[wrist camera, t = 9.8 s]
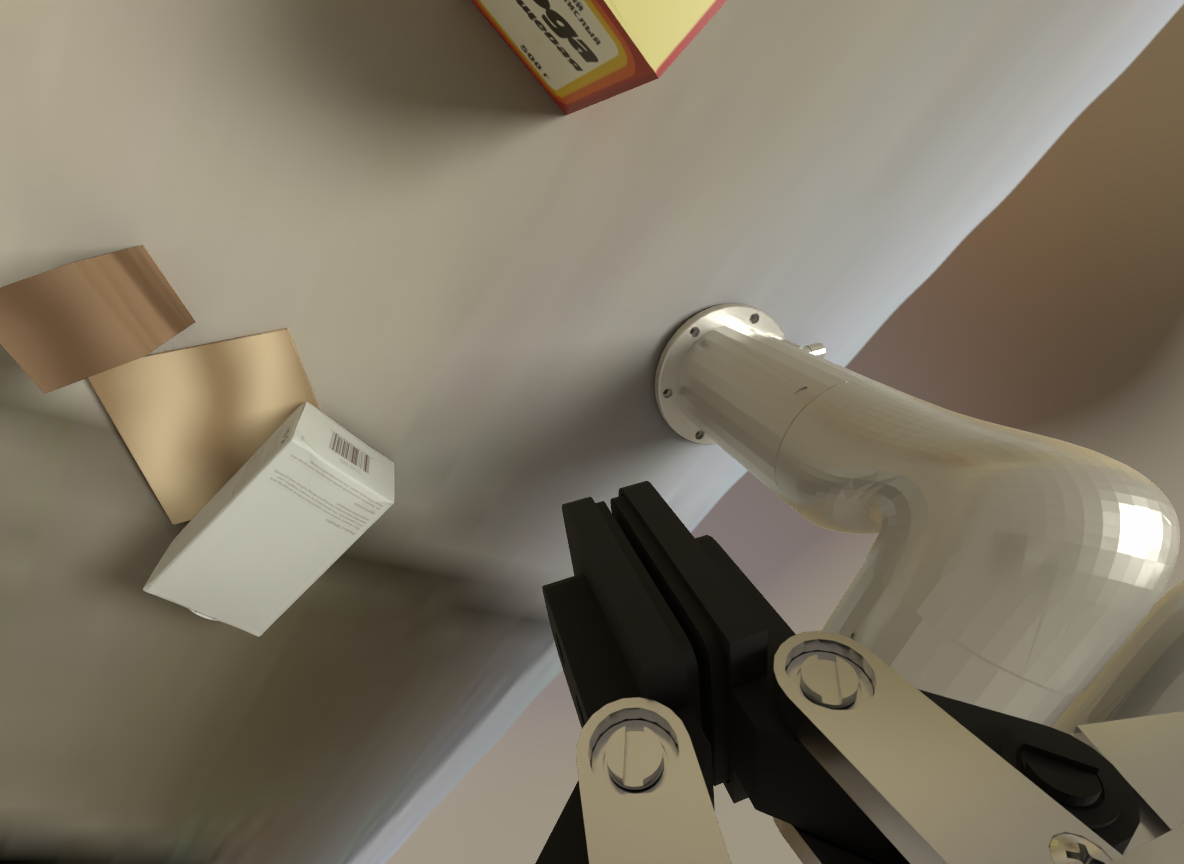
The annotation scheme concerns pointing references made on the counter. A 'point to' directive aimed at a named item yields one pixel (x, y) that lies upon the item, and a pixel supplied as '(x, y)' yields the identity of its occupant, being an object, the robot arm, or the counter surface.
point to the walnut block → (89, 317)
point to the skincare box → (276, 524)
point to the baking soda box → (596, 41)
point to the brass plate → (203, 412)
